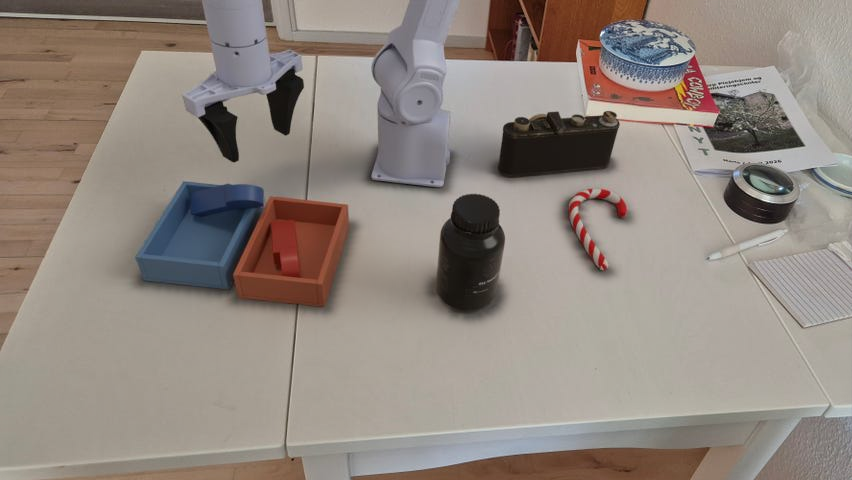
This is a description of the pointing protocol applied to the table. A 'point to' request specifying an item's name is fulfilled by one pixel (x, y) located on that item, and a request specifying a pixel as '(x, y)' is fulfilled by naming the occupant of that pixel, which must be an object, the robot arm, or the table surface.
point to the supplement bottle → (470, 253)
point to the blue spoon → (226, 199)
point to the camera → (557, 144)
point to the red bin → (317, 252)
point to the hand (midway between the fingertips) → (257, 144)
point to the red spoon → (285, 247)
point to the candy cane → (579, 226)
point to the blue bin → (196, 243)
